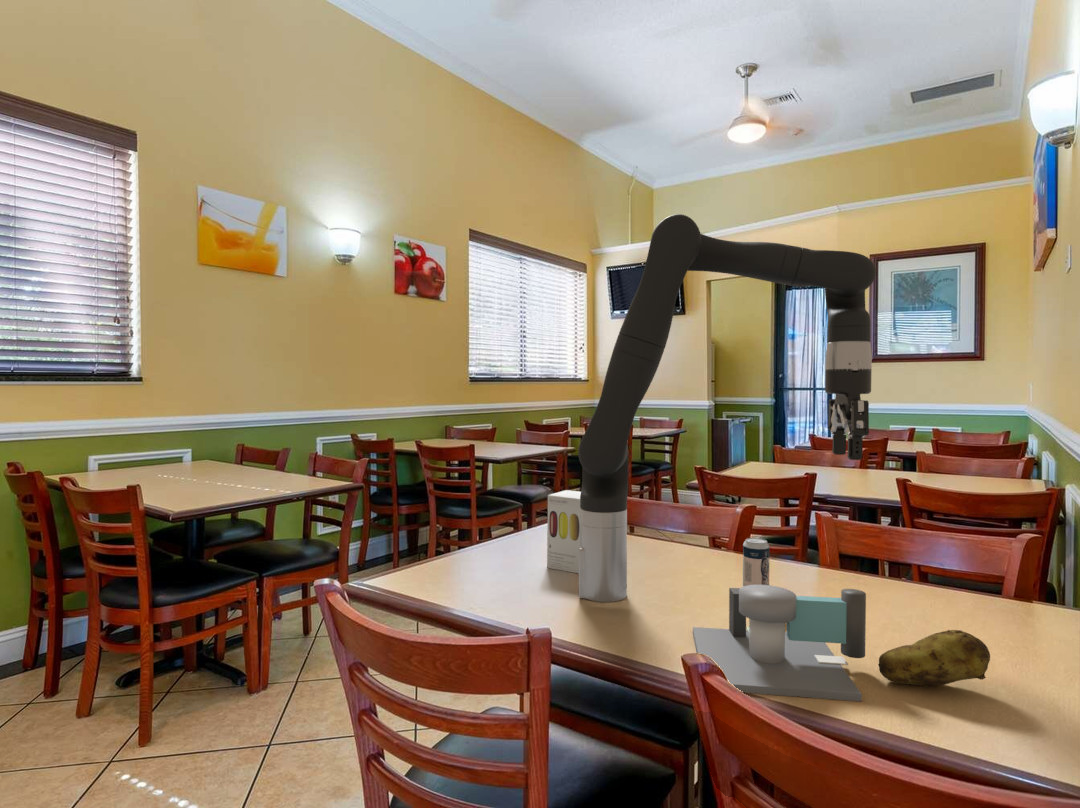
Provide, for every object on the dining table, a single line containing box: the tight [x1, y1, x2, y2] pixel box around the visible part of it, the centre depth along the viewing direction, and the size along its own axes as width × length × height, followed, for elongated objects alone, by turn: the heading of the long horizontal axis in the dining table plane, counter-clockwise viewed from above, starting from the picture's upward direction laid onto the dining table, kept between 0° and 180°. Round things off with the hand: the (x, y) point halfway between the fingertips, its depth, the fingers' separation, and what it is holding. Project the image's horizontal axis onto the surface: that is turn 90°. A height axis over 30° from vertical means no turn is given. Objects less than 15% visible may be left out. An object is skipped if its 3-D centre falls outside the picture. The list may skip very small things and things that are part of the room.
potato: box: [878, 629, 991, 687], centre depth 86 cm, size 8×13×8 cm, turn 58°
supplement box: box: [546, 489, 581, 575], centre depth 144 cm, size 10×9×17 cm
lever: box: [739, 584, 867, 659], centre depth 92 cm, size 18×8×9 cm, turn 81°
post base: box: [692, 587, 862, 702], centre depth 94 cm, size 21×21×8 cm
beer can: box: [742, 537, 770, 587], centre depth 119 cm, size 5×5×12 cm
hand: (846, 456), depth 114 cm, fingers open, 8 cm apart
